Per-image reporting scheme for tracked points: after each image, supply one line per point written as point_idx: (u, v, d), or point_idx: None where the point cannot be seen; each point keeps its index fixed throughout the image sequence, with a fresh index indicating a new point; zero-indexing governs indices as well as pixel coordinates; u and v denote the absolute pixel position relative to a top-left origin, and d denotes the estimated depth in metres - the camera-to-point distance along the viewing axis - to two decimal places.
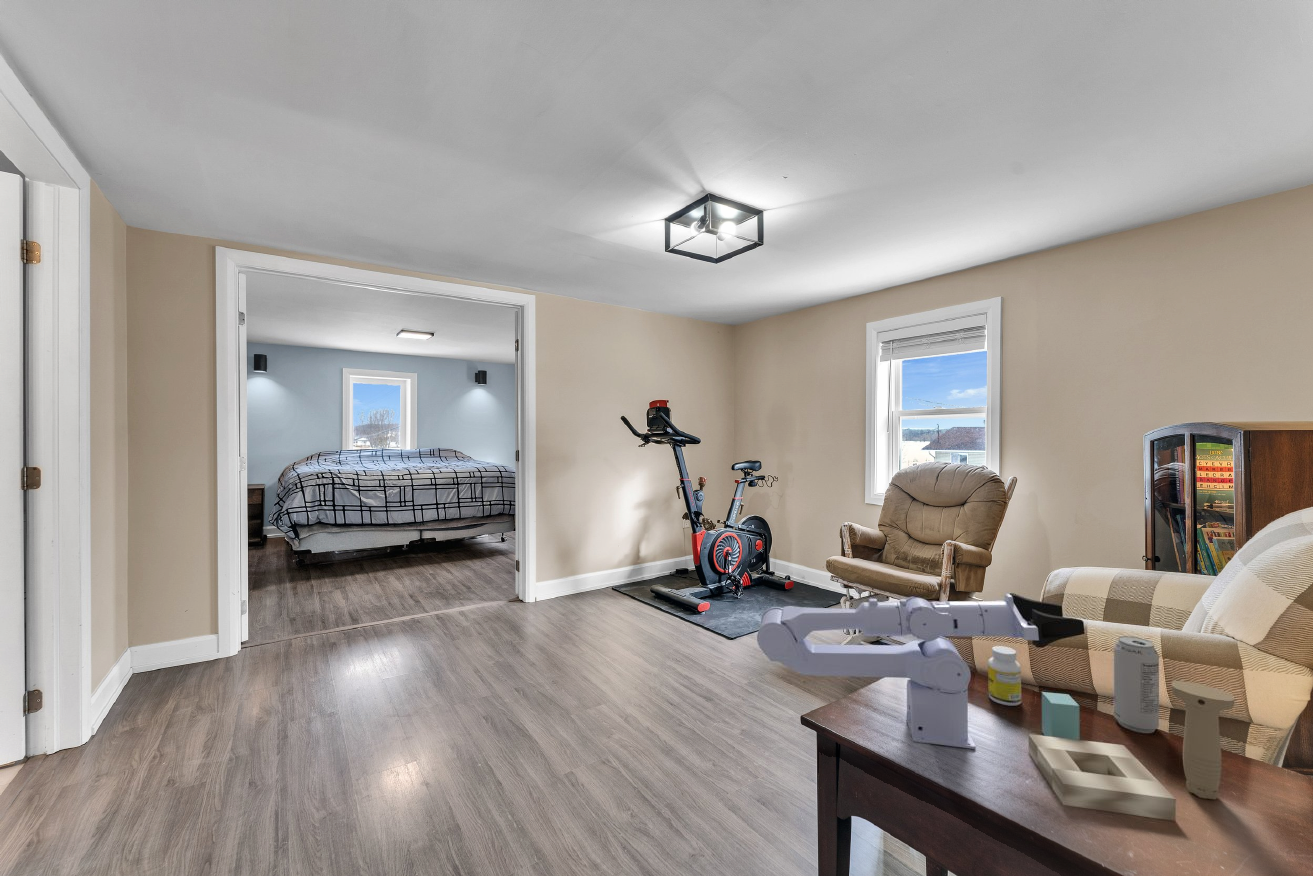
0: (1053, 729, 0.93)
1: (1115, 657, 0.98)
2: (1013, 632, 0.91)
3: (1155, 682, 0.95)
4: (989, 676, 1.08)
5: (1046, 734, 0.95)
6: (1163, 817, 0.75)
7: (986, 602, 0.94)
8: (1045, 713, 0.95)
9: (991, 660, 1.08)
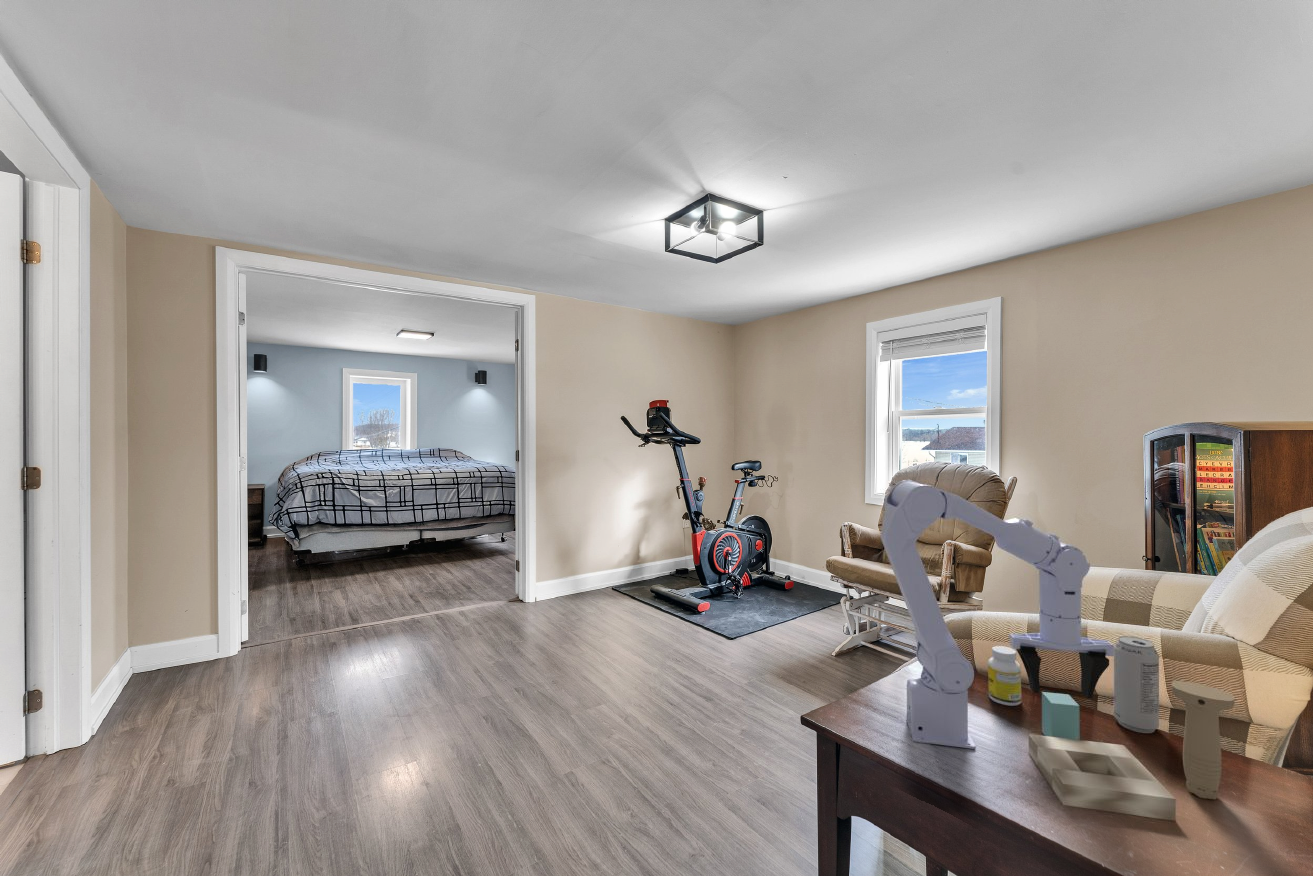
0: (1053, 729, 0.93)
1: (1115, 657, 0.98)
2: (1080, 642, 0.92)
3: (1155, 682, 0.95)
4: (989, 676, 1.08)
5: (1046, 734, 0.95)
6: (1163, 817, 0.75)
7: None
8: (1045, 713, 0.95)
9: (991, 660, 1.08)
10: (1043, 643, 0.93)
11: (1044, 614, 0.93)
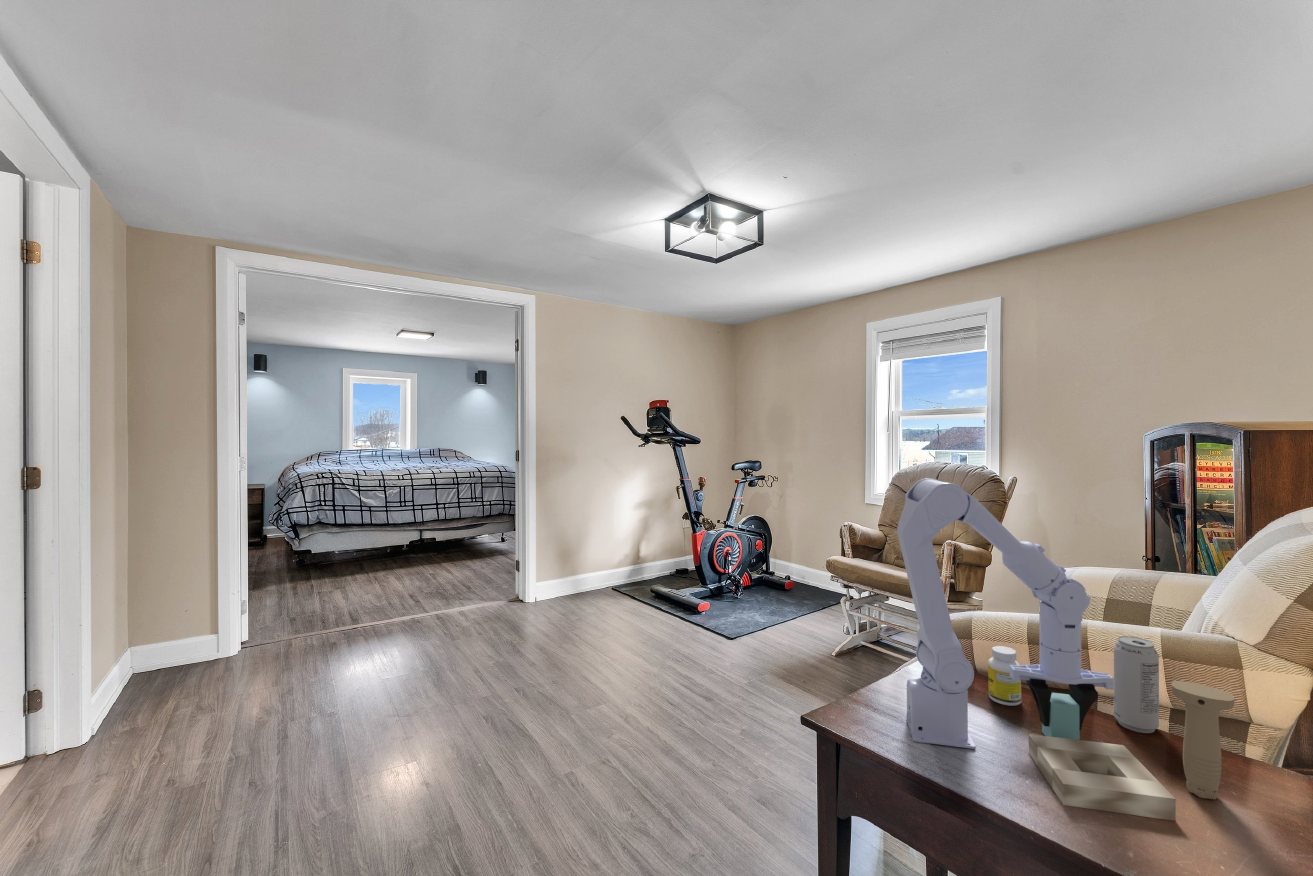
0: (1053, 729, 0.93)
1: (1115, 657, 0.98)
2: (1080, 676, 0.92)
3: (1154, 682, 0.95)
4: (989, 676, 1.08)
5: (1046, 734, 0.95)
6: (1163, 817, 0.75)
7: None
8: None
9: (991, 660, 1.08)
10: (1043, 676, 0.93)
11: (1044, 647, 0.94)
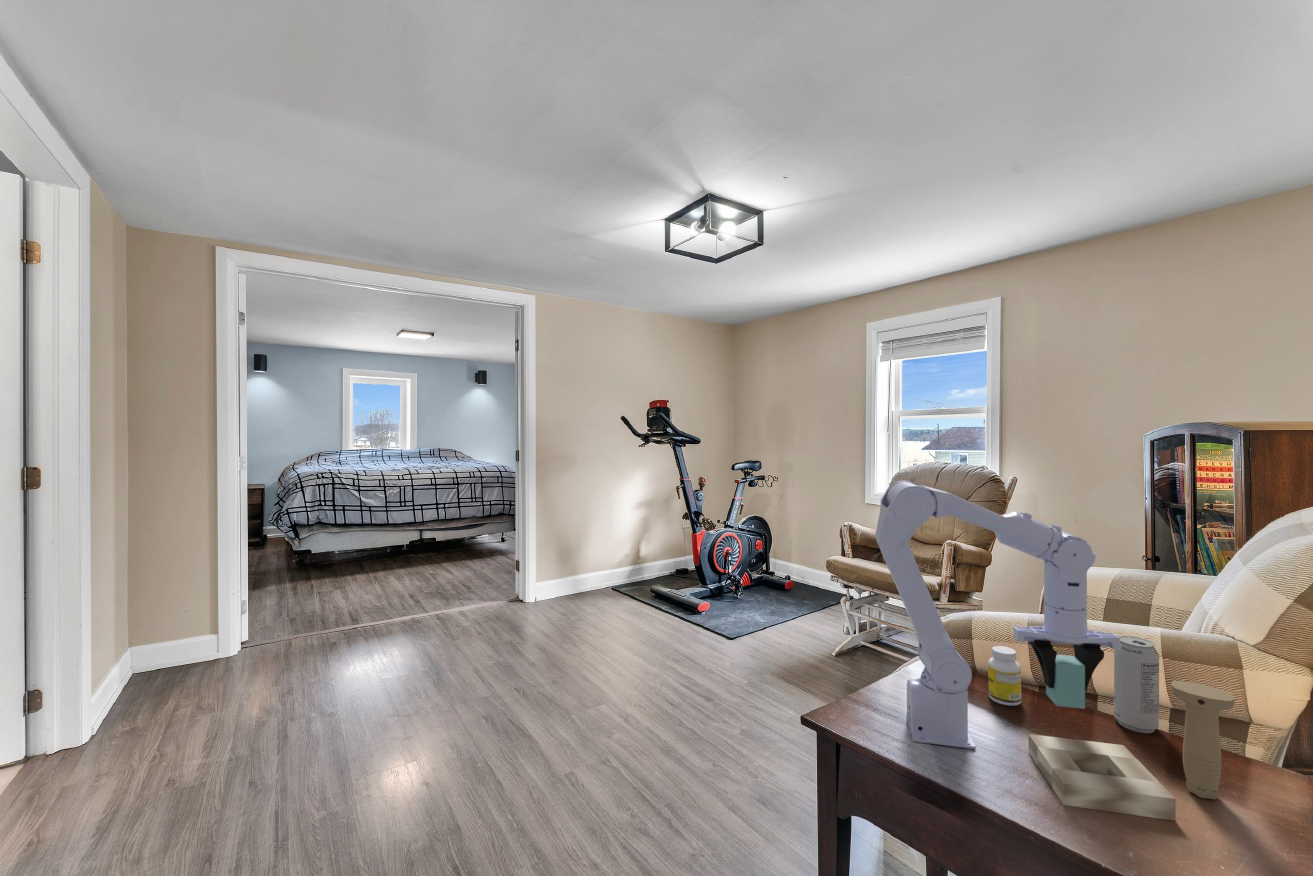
0: (1058, 690, 0.91)
1: (1116, 657, 0.98)
2: (1086, 635, 0.90)
3: (1155, 682, 0.95)
4: (989, 676, 1.08)
5: (1051, 696, 0.93)
6: (1163, 817, 0.75)
7: None
8: None
9: (991, 660, 1.08)
10: (1048, 636, 0.91)
11: (1049, 606, 0.91)
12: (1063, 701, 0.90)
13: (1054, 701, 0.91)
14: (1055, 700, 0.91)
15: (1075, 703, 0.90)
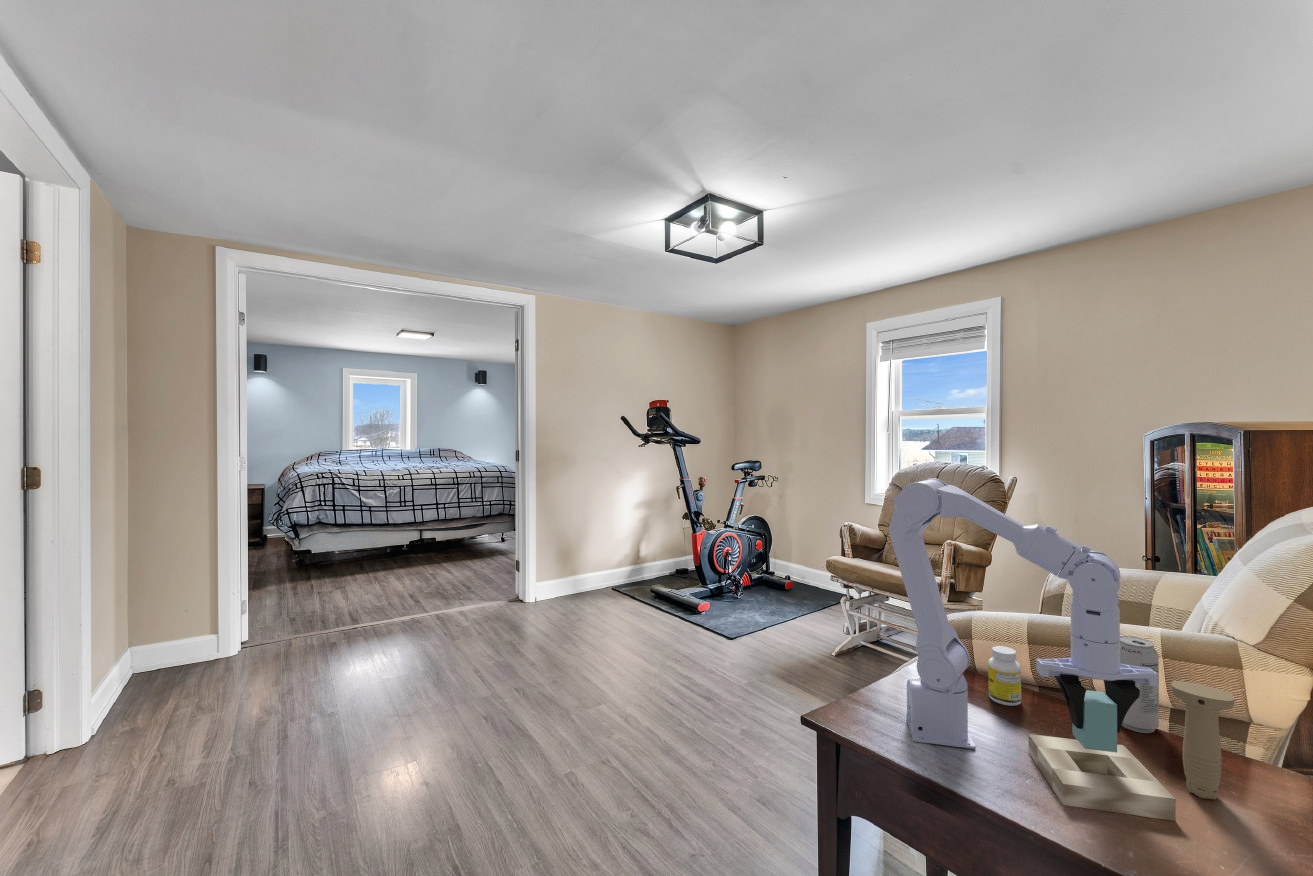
0: (1087, 731, 0.81)
1: None
2: (1119, 670, 0.80)
3: None
4: (989, 676, 1.08)
5: (1078, 737, 0.83)
6: (1163, 817, 0.75)
7: None
8: None
9: (991, 660, 1.08)
10: (1076, 671, 0.81)
11: (1077, 637, 0.82)
12: (1092, 744, 0.81)
13: (1082, 743, 0.82)
14: (1083, 742, 0.82)
15: (1106, 746, 0.81)
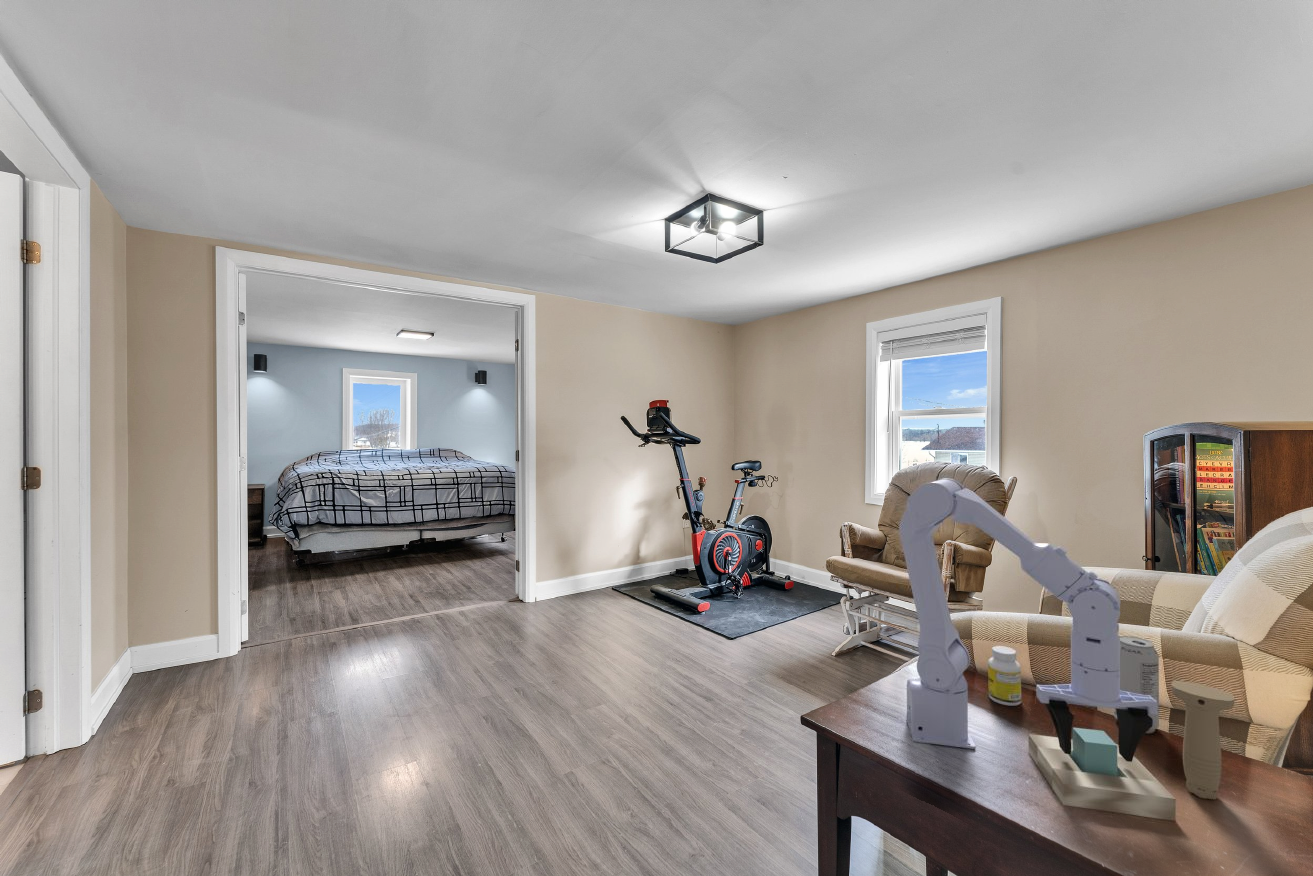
0: (1087, 772, 0.81)
1: None
2: (1119, 698, 0.80)
3: (1154, 682, 0.95)
4: (989, 676, 1.08)
5: None
6: (1163, 817, 0.75)
7: None
8: (1077, 752, 0.84)
9: (991, 660, 1.08)
10: (1076, 698, 0.81)
11: (1077, 665, 0.82)
12: None
13: None
14: None
15: None
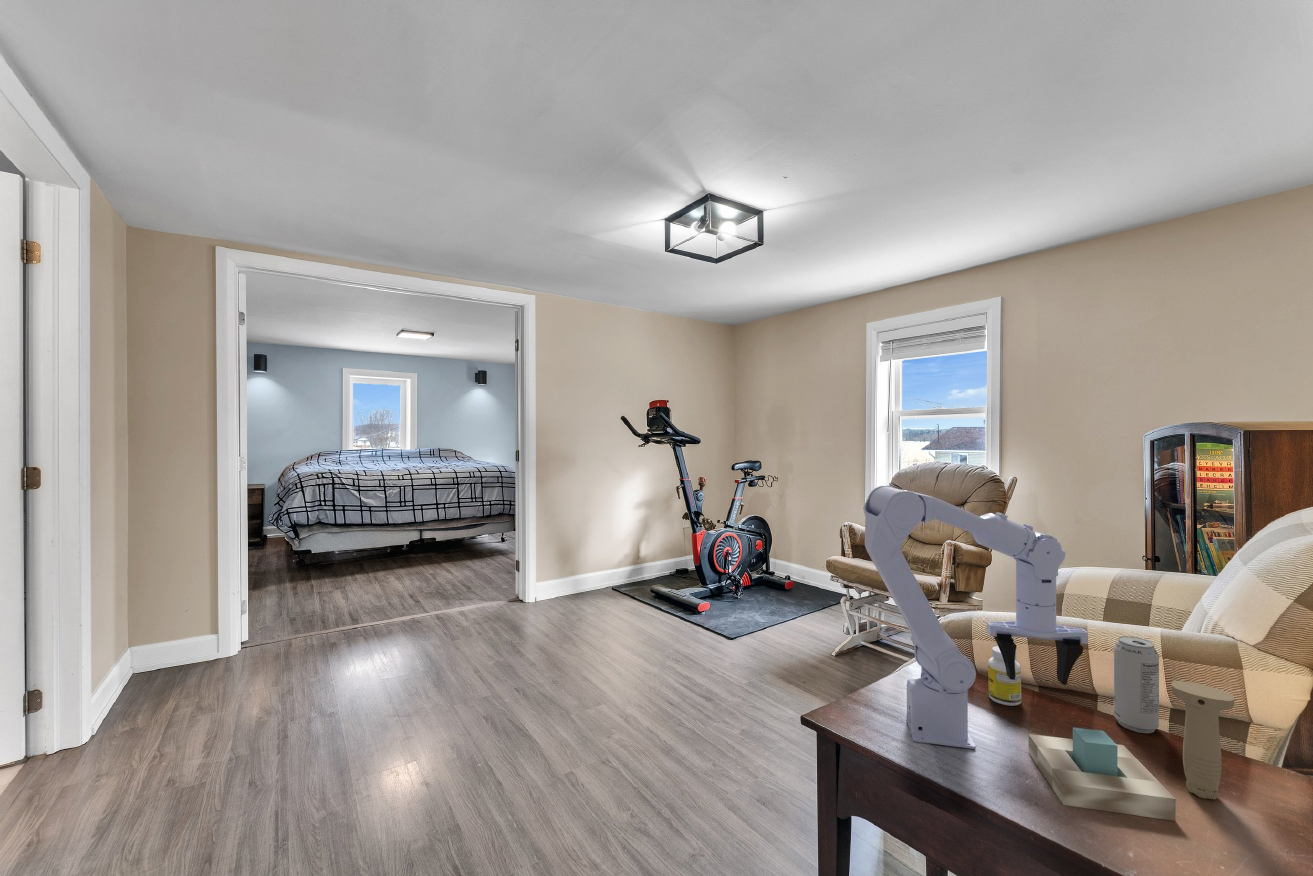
0: (1087, 772, 0.81)
1: (1115, 657, 0.98)
2: (1055, 630, 0.93)
3: (1155, 682, 0.95)
4: (989, 676, 1.08)
5: None
6: (1163, 817, 0.75)
7: None
8: (1077, 753, 0.84)
9: (991, 660, 1.08)
10: (1019, 630, 0.94)
11: (1020, 602, 0.95)
12: None
13: None
14: None
15: None
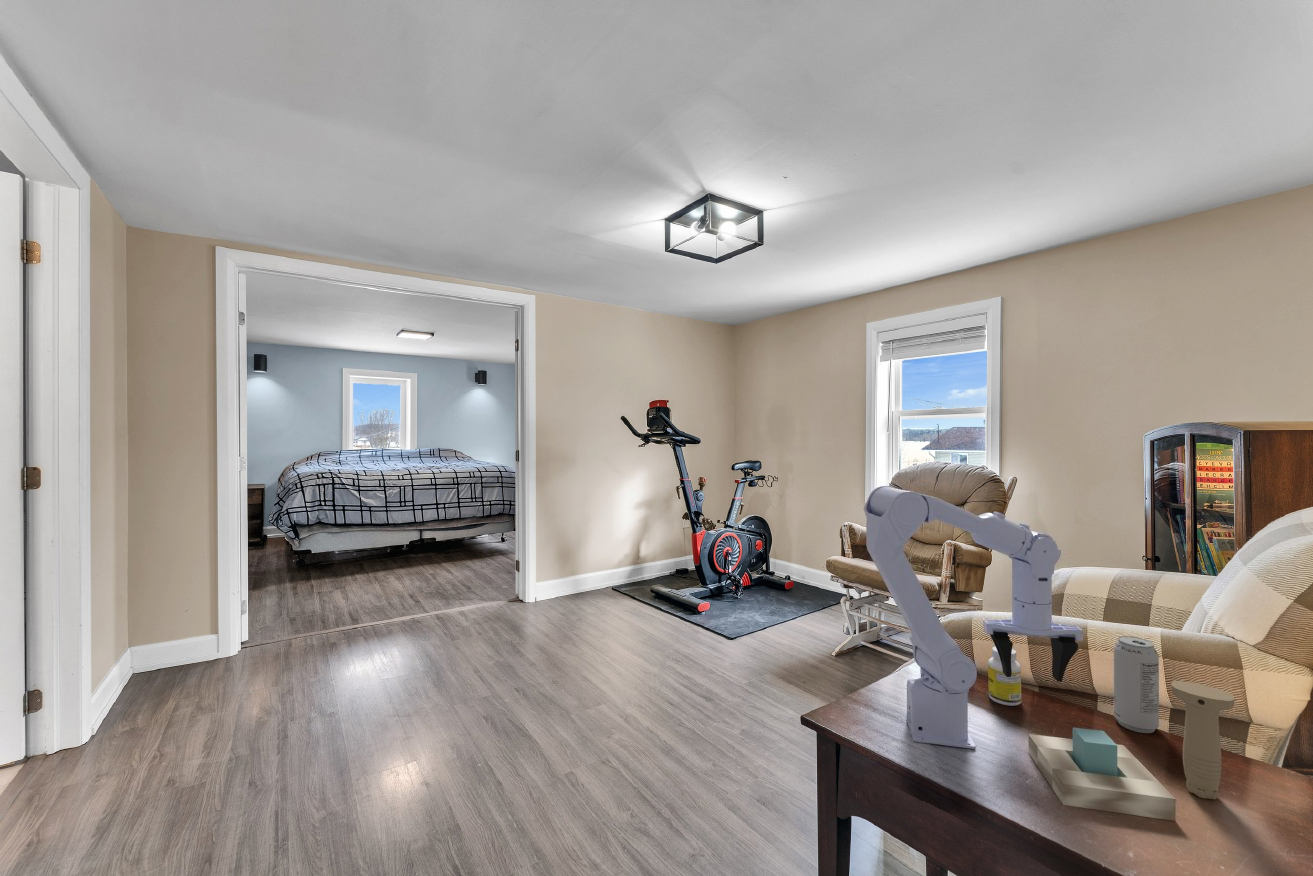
0: (1087, 772, 0.81)
1: (1115, 657, 0.98)
2: (1051, 628, 0.95)
3: (1154, 682, 0.95)
4: (989, 676, 1.08)
5: None
6: (1163, 817, 0.75)
7: None
8: (1077, 752, 0.84)
9: (991, 660, 1.08)
10: (1015, 628, 0.95)
11: (1016, 600, 0.96)
12: None
13: None
14: None
15: None
